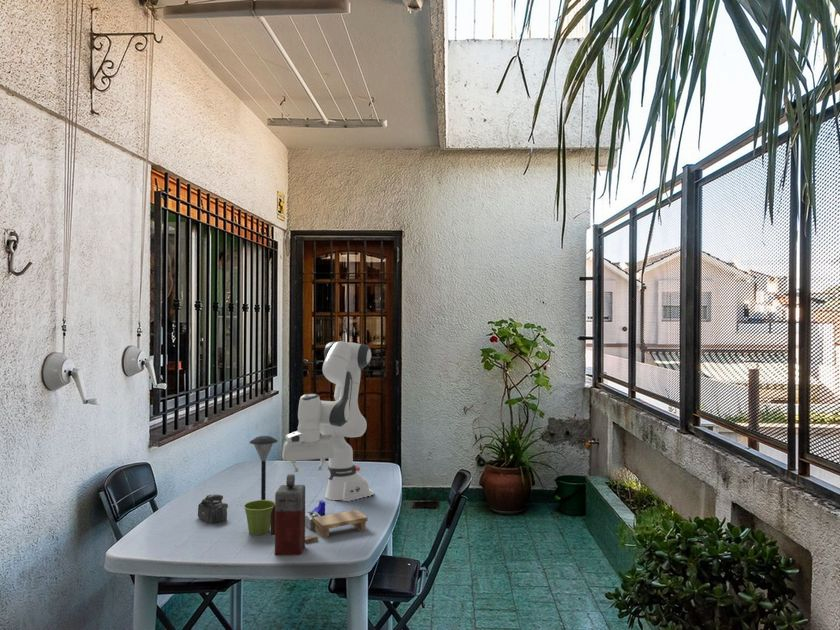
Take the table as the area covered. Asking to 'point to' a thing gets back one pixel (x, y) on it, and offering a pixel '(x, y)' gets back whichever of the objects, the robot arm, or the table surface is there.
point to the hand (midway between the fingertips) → (307, 470)
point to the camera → (213, 509)
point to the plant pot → (259, 516)
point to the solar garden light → (263, 457)
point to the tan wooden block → (311, 538)
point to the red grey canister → (289, 518)
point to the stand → (339, 521)
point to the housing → (310, 519)
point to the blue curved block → (320, 508)
